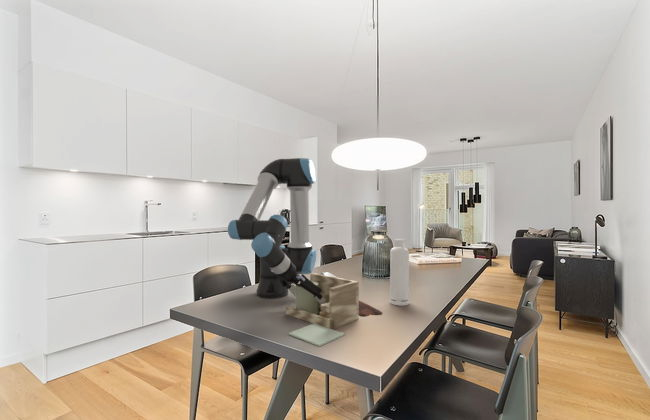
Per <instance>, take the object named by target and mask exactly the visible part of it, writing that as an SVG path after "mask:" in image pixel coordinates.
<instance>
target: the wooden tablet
mask: <svg viewBox="0 0 650 420" xmlns="http://www.w3.org/2000/svg"><path fill="white" fill-rule="evenodd" d="M381 315H383V312H382V311H381V310H379V309H377V308H375V307H373V306H371V305H369V304H367V303H365V302H363V301H361V300H359V316H360V317H363V318H365V317H369V316H381Z"/></svg>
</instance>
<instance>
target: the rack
mask: <svg viewBox="0 0 650 420" xmlns="http://www.w3.org/2000/svg"><path fill="white" fill-rule="evenodd" d="M309 275H310V277H309V278H310V279H309V280H310V281H315V282H318V287H319V288H320V289H321V290H322V291H321V292H320V293H321V295H322V296H323V297H324V298H325V299H326V300H325V302H324V303H323V304H325V303H329V302H330V303H329V318H326V317H322V316H320V314H313V313H309V312H306V311H303V310H299V309H296V307H293V306H290V305H287V306H286V307H285V314H286V315H288V316H290V317H293V318H295V319H296V318H297V319H298V320H299V319H300V320H302V321H305V322H309V323H311V324H317V325H320V326H323V327H326V328H329V329H332V330H335V329H338V328H340V327H343V326H345V325H347V324H350V323H351V322H354V321H357V320H359V316H360V315H359V301H360V299H359V298H360V296H359V295H360V293H359V292H360V289H359V288H360V287H359V286H360V285H359V284H360V283H359V282H360V281H356V280H354V279H353V280H351V279H346V278H342V277H338V278H337V276H336V277H332V276H326V275H321V274H320V273H314V272H311V273H310V274H309ZM318 310H321V305H320V303H319V302H318Z"/></svg>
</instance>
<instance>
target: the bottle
mask: <svg viewBox="0 0 650 420" xmlns="http://www.w3.org/2000/svg"><path fill="white" fill-rule="evenodd" d="M393 240H394V245H393V247H392V248H390V251H389V252H390V253H389V256H390V257H389V258H390V259H389V260H390V261H389V262H390V267H389V268H390V269H389V270H390V271H389V275H390V276H389V290H390V291H389V303H390V304H392V305H395V306H400V307H401V306H408V305H409V304H410V299H409V298H410V251H409V249H408V248H407V247H406V245H405V241H406V238H394V239H393Z"/></svg>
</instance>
